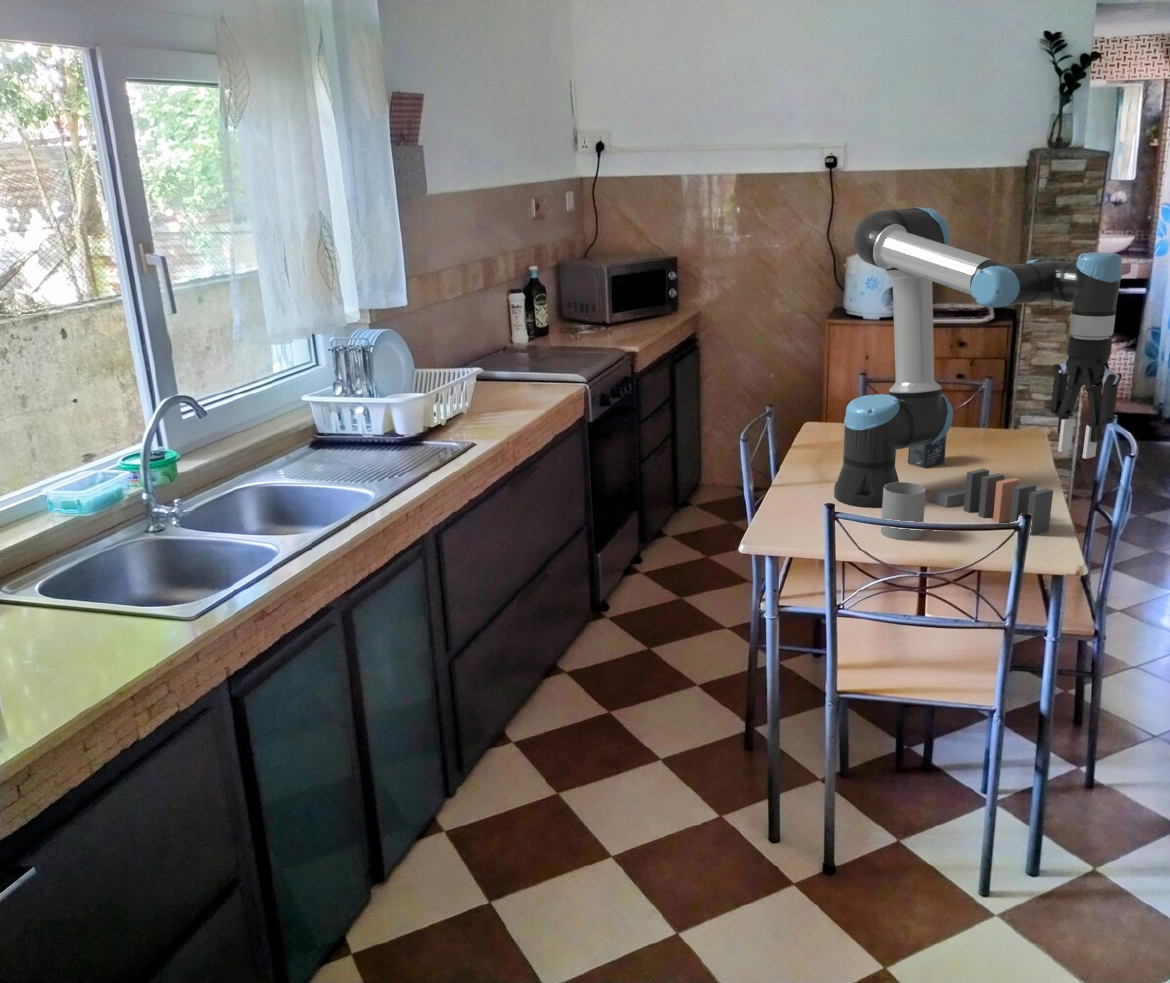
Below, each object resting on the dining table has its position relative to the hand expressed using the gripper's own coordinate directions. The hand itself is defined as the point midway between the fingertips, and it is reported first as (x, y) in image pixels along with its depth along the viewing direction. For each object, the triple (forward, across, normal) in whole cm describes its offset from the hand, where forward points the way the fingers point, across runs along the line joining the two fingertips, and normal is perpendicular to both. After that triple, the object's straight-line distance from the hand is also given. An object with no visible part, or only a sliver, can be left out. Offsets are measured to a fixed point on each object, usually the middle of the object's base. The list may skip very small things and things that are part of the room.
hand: (1076, 453), depth 199 cm
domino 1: (+19, +24, 0) cm, 30 cm away
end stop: (+19, +30, 0) cm, 35 cm away
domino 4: (+19, +11, 0) cm, 22 cm away
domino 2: (+19, +20, 0) cm, 27 cm away
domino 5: (+19, +7, 0) cm, 20 cm away
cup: (+19, +21, +24) cm, 37 cm away
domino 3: (+19, +16, 0) cm, 24 cm away
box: (+19, +56, -17) cm, 62 cm away
